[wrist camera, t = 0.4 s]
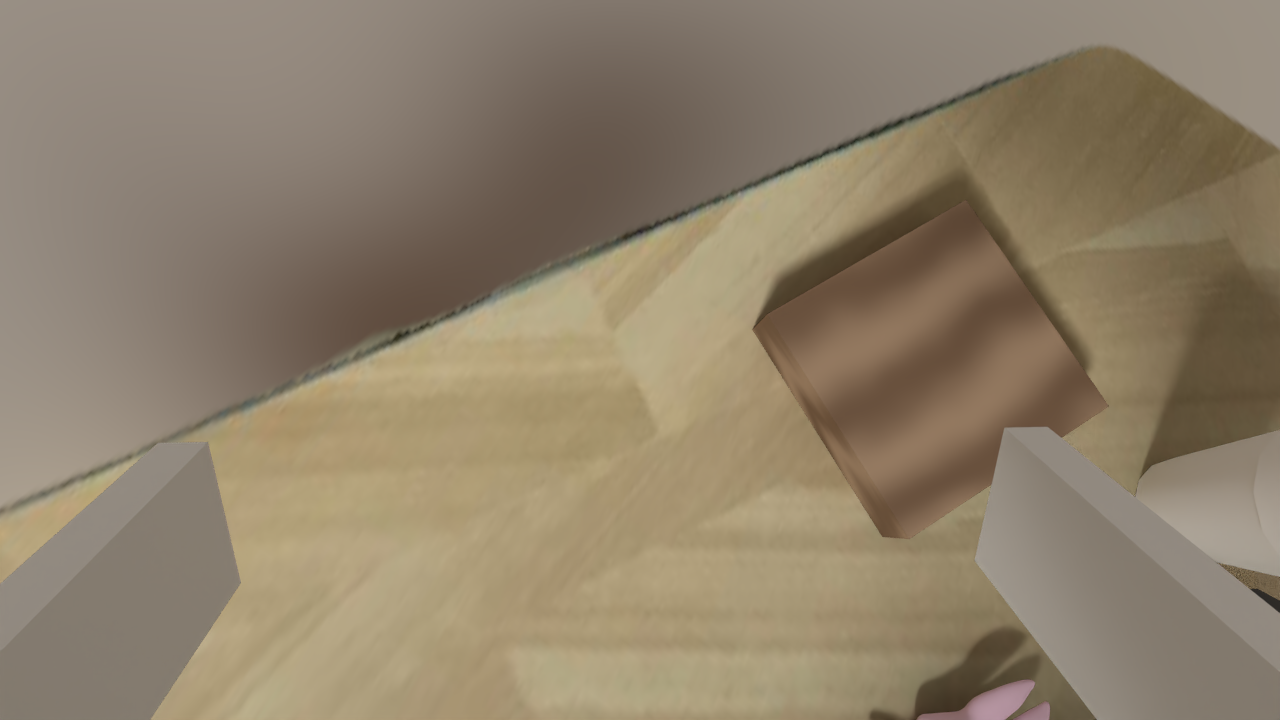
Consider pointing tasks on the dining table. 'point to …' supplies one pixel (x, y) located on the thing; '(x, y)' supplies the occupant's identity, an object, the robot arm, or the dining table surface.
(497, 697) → the dining table surface
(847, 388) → the walnut base
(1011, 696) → the rabbit figure
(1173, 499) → the foam cup
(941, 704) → the dining table surface
